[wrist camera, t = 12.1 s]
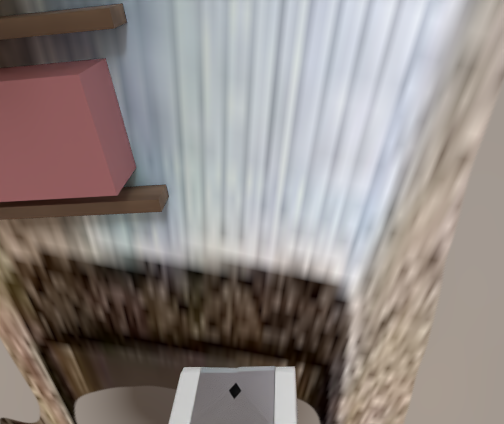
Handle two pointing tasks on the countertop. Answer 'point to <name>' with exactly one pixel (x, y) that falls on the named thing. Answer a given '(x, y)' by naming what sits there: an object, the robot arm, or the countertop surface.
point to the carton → (61, 132)
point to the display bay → (124, 202)
